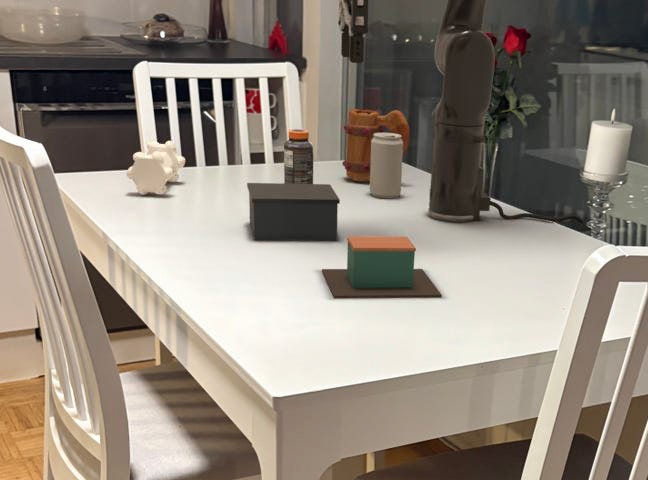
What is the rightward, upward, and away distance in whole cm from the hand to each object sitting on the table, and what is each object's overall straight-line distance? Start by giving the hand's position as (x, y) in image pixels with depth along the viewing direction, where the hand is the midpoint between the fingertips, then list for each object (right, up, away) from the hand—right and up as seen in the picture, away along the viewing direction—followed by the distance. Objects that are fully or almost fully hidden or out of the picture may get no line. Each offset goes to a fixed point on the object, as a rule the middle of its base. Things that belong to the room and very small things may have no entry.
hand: (351, 59), depth 160 cm
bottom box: (-11, -26, +9) cm, 30 cm away
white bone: (-41, -12, +31) cm, 53 cm away
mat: (+5, -40, -14) cm, 42 cm away
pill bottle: (-14, -9, +40) cm, 44 cm away
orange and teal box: (+5, -40, -14) cm, 42 cm away
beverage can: (+4, -11, +39) cm, 41 cm away
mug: (+1, -5, +50) cm, 50 cm away
